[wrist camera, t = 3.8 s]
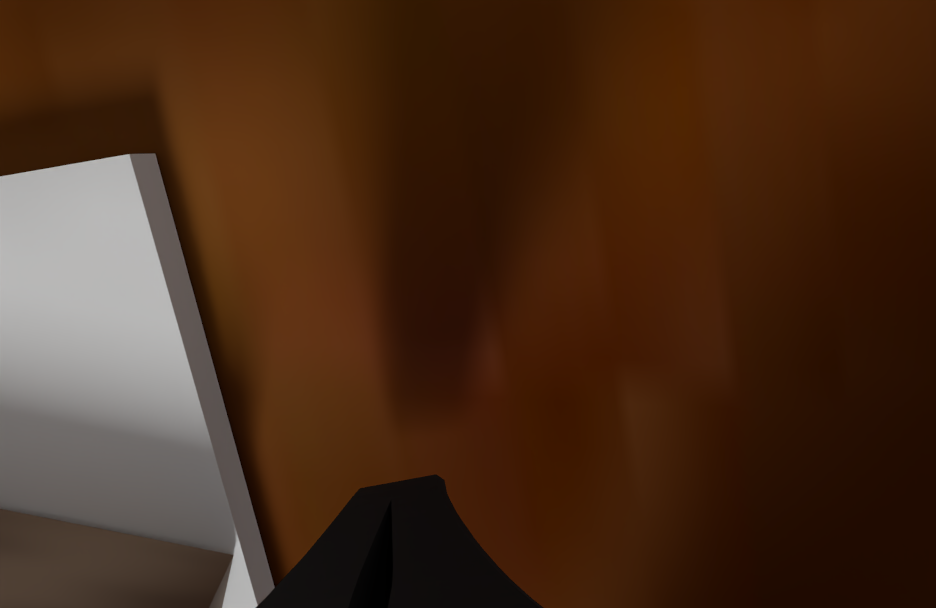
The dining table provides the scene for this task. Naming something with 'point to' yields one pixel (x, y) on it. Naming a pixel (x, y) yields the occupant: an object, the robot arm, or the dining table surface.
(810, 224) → the dining table surface
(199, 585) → the frame
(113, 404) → the wall board
